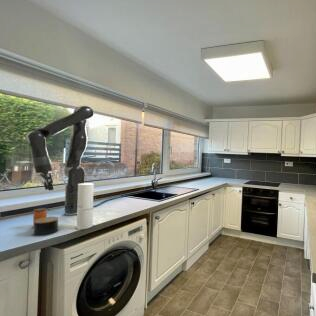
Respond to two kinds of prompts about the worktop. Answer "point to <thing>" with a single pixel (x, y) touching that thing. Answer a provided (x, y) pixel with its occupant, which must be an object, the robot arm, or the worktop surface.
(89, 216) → the cylindrical container
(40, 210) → the orange tin
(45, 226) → the black canister
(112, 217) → the worktop surface
